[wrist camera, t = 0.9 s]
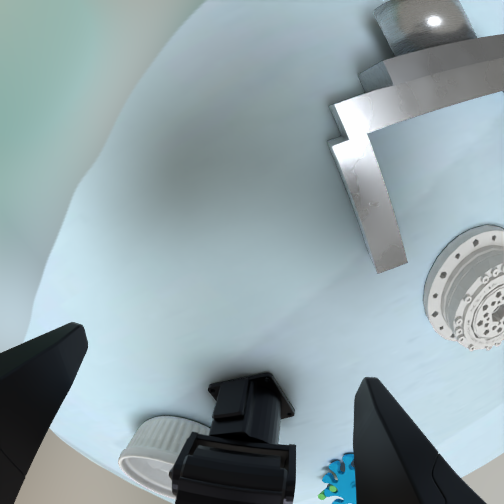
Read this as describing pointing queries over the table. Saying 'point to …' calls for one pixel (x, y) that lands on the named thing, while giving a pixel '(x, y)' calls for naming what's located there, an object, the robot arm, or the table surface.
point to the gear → (341, 482)
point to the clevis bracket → (408, 102)
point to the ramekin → (157, 451)
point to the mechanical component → (469, 289)
